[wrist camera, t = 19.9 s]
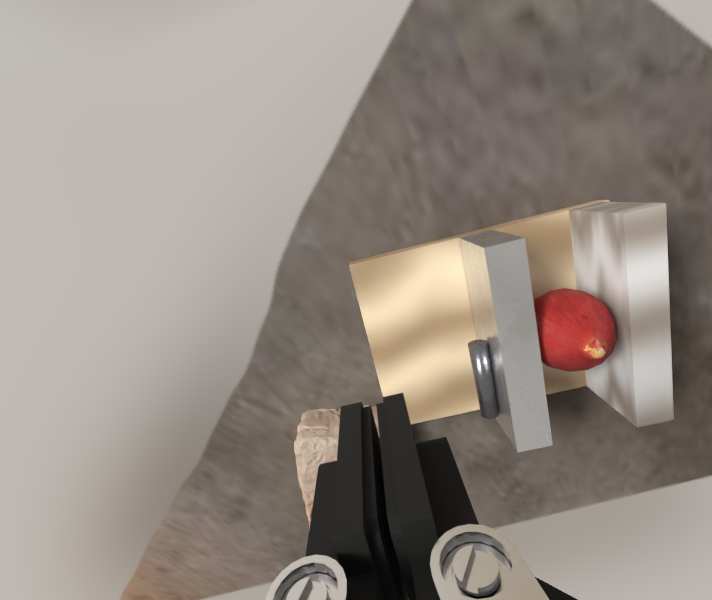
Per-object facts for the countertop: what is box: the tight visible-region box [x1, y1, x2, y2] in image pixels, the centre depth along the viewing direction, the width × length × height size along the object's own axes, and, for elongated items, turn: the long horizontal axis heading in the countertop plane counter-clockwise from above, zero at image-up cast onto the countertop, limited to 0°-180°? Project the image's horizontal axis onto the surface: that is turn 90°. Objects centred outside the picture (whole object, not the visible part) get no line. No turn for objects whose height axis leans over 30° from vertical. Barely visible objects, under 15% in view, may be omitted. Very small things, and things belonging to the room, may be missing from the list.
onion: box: [534, 288, 617, 372], centre depth 27 cm, size 6×6×8 cm
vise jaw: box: [459, 230, 553, 453], centre depth 28 cm, size 15×4×6 cm, turn 14°
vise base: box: [349, 200, 674, 427], centre depth 29 cm, size 15×20×8 cm
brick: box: [294, 405, 380, 529], centre depth 35 cm, size 17×8×5 cm, turn 6°
